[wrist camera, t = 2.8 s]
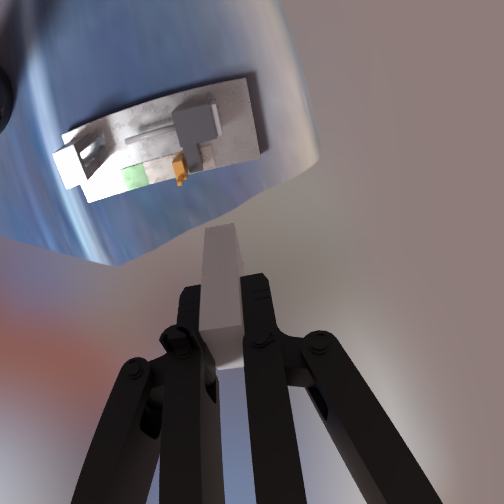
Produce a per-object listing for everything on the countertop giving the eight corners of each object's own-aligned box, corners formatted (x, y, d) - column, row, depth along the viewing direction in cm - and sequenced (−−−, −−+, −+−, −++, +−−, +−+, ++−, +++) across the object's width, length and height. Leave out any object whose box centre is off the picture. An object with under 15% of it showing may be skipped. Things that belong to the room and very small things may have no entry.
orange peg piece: (179, 174, 45) (175, 188, 41) (174, 157, 43) (169, 169, 39) (188, 172, 44) (185, 185, 41) (183, 154, 43) (179, 166, 39)
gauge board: (92, 197, 47) (76, 220, 41) (66, 132, 39) (43, 147, 33) (259, 154, 46) (266, 173, 40) (244, 77, 39) (249, 80, 32)
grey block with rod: (145, 179, 45) (137, 193, 41) (125, 122, 39) (115, 130, 35) (229, 159, 44) (230, 171, 40) (215, 97, 38) (215, 102, 34)
